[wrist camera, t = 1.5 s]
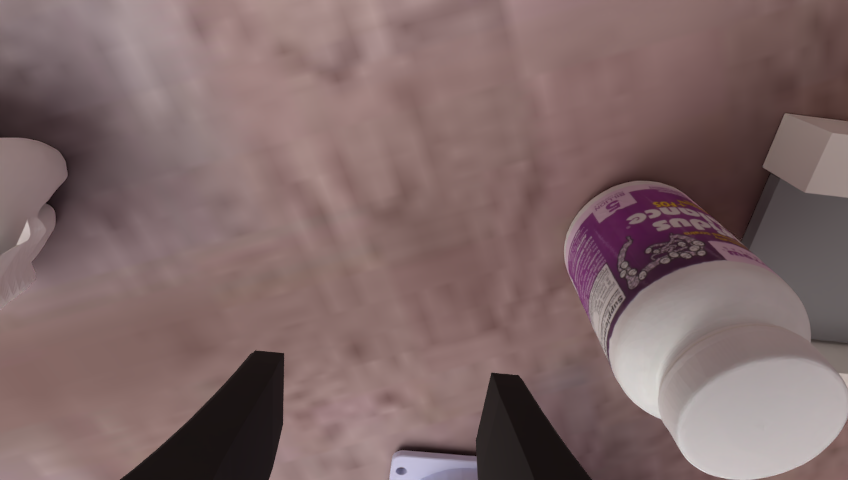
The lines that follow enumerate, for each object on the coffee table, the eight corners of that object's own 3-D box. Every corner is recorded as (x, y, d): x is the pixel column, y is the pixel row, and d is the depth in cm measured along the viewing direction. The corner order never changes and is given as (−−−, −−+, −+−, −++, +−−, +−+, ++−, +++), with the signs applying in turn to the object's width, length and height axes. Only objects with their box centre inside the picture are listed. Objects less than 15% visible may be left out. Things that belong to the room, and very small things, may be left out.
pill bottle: (707, 168, 20) (918, 321, 12) (690, 291, 23) (856, 492, 14) (559, 182, 21) (660, 343, 12) (558, 303, 23) (642, 508, 14)
